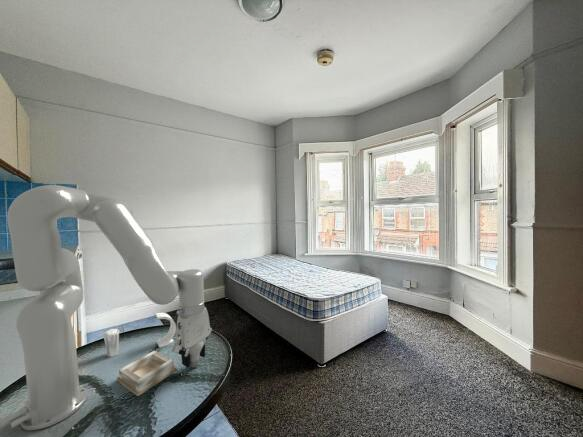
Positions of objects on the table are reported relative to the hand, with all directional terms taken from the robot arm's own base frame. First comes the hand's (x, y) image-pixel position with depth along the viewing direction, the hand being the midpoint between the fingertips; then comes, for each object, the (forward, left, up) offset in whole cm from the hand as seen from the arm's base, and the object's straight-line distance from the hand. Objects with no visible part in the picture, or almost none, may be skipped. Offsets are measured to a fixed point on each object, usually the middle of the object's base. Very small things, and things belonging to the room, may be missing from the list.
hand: (194, 359), depth 79 cm
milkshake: (-10, +32, -3) cm, 33 cm away
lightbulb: (0, 0, -3) cm, 3 cm away
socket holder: (-10, +10, -2) cm, 14 cm away
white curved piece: (+4, +22, -3) cm, 22 cm away
